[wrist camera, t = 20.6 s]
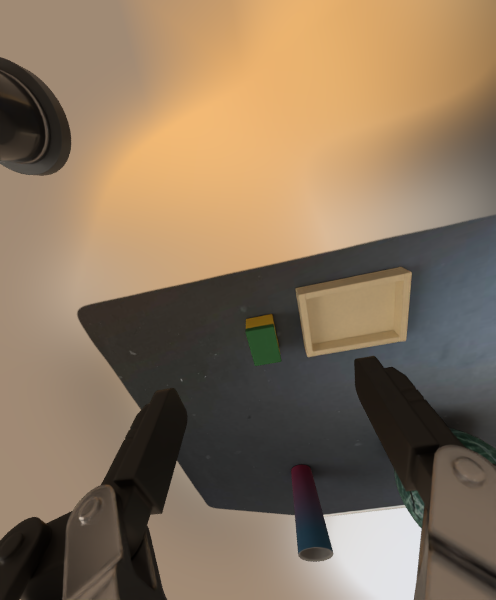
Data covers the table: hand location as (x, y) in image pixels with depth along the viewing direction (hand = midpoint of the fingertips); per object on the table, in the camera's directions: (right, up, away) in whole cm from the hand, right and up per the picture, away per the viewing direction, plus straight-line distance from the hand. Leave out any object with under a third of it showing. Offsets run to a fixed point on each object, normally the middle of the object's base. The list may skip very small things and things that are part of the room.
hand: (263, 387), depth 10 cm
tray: (+16, +2, +28) cm, 32 cm away
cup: (+13, -40, +48) cm, 64 cm away
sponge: (+2, -2, +30) cm, 30 cm away
